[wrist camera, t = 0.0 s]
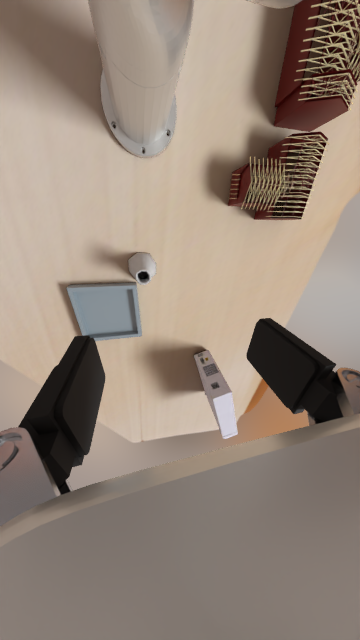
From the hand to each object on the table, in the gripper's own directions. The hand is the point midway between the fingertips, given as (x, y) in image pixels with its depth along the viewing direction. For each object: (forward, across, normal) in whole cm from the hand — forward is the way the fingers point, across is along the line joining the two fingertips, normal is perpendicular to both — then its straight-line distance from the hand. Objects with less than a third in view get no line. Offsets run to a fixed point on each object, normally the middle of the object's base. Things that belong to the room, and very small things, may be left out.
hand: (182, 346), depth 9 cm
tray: (+37, +12, +15) cm, 41 cm away
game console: (+37, -20, +46) cm, 62 cm away
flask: (+37, +2, +3) cm, 37 cm away
